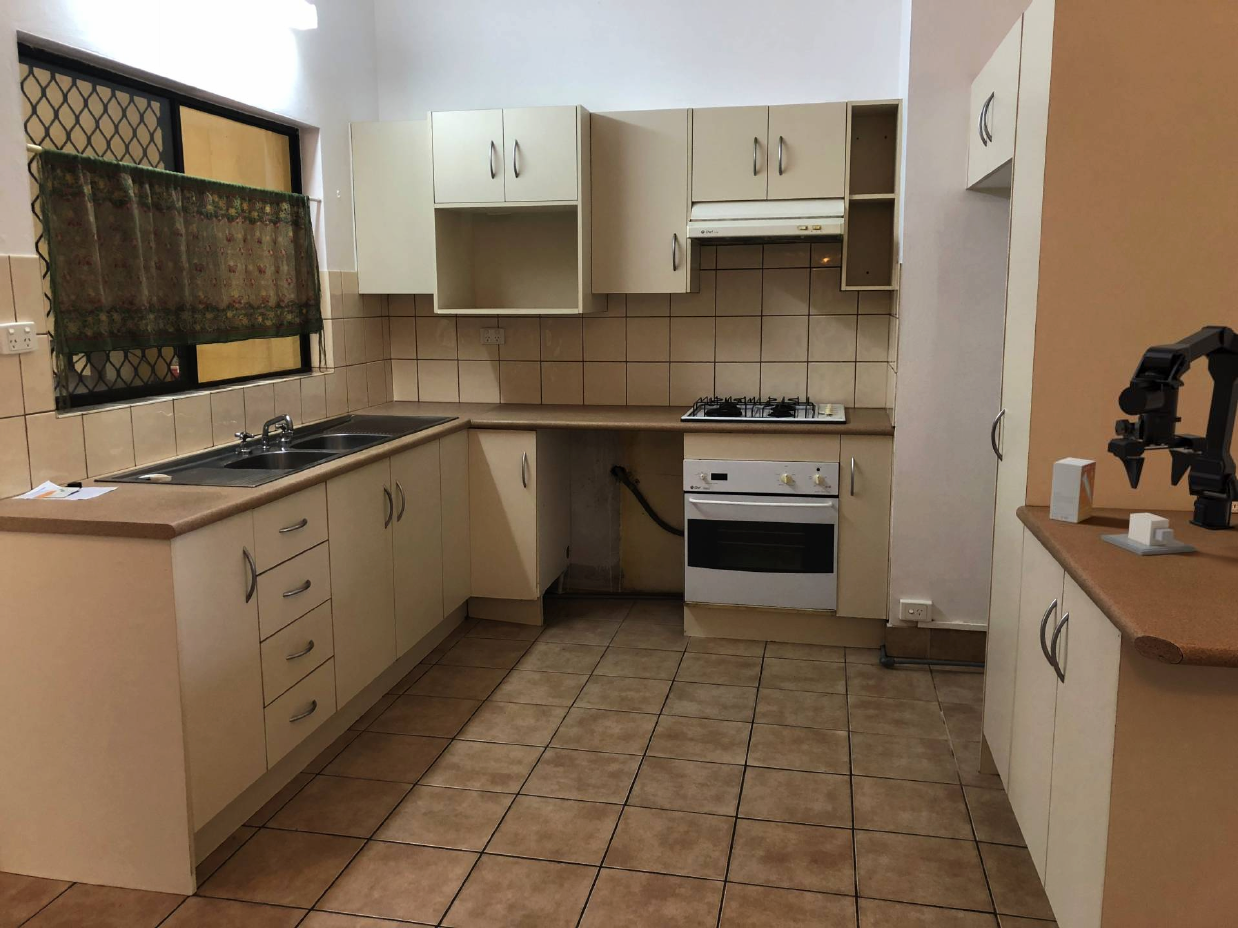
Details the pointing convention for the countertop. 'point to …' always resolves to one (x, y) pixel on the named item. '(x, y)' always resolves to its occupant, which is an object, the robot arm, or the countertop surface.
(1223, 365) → the robot arm
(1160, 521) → the connector
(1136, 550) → the plate
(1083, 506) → the small box
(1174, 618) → the countertop surface
